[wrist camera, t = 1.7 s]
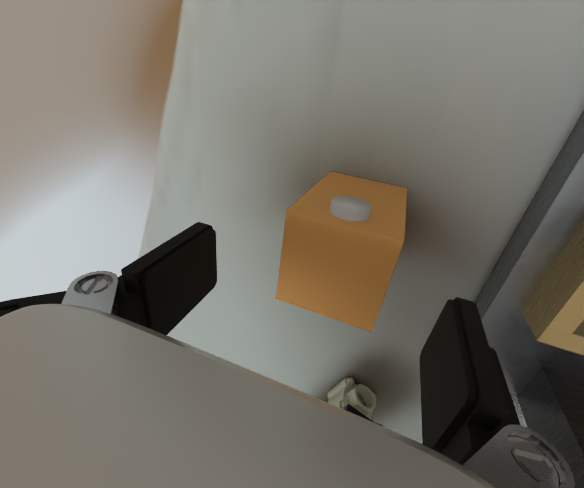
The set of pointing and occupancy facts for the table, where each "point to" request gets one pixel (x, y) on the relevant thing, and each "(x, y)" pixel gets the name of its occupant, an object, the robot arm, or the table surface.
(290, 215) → the block
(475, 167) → the table surface
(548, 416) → the shaft stand
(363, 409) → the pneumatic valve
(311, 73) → the table surface
